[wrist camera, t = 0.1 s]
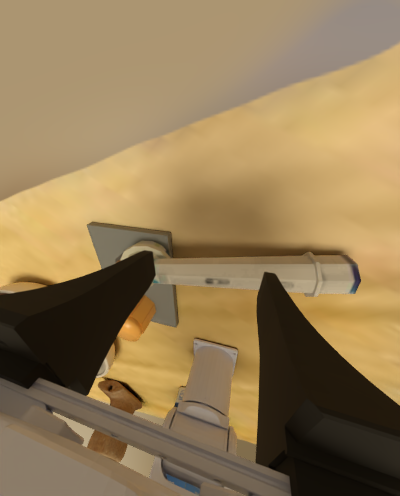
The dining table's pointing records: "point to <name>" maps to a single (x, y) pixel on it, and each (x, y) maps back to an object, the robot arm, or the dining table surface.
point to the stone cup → (123, 402)
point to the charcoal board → (126, 239)
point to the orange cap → (138, 320)
